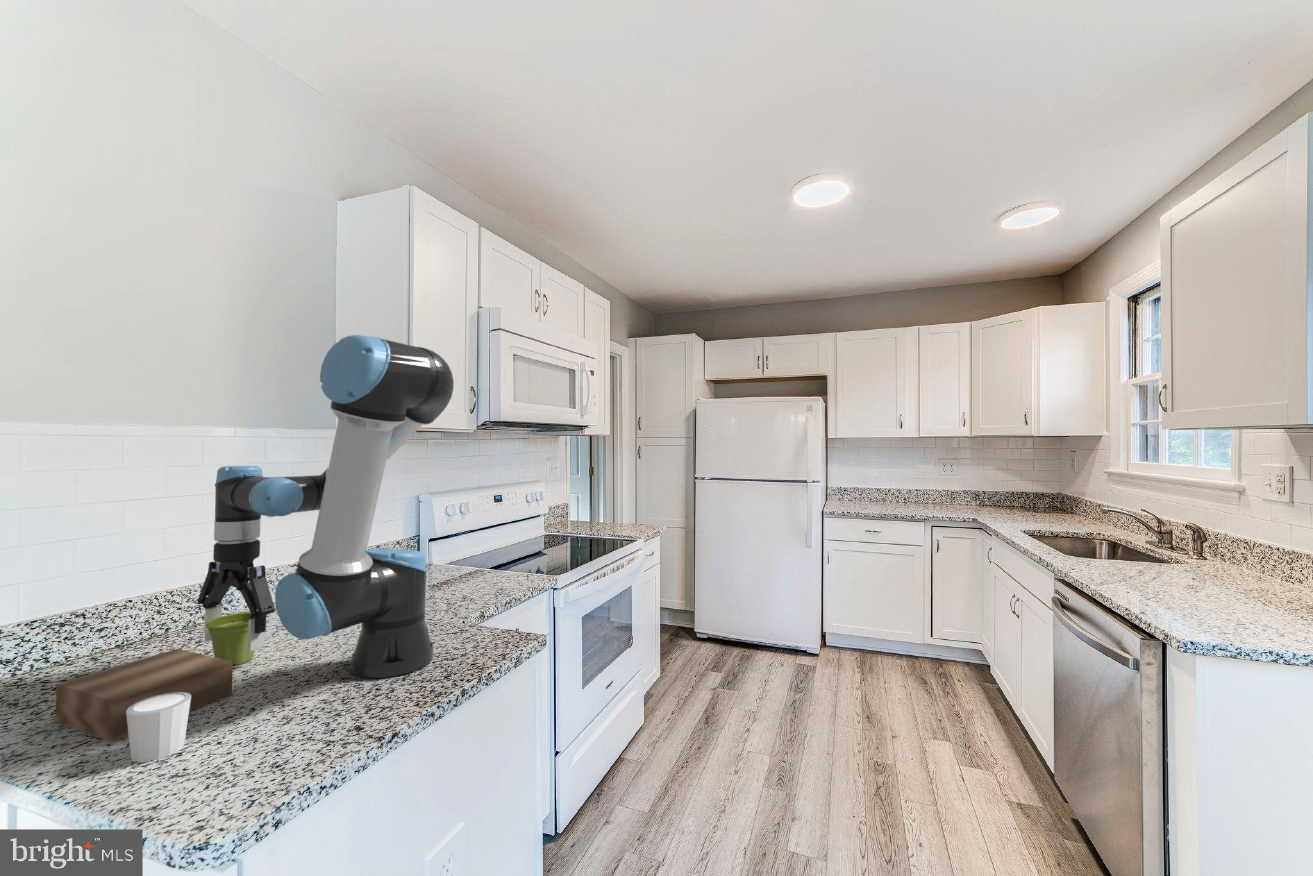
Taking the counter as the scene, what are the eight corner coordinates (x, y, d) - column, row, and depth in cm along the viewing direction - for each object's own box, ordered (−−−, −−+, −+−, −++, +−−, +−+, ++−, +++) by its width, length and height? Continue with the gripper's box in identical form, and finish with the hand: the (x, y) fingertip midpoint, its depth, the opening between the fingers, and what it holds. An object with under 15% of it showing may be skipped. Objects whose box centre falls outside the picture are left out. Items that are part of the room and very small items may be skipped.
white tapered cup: (125, 750, 76) (126, 701, 76) (188, 733, 81) (189, 687, 81) (124, 771, 71) (125, 719, 71) (191, 751, 76) (193, 702, 76)
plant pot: (230, 673, 103) (231, 628, 103) (191, 668, 104) (193, 624, 105) (274, 654, 112) (275, 613, 112) (238, 651, 114) (239, 610, 114)
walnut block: (231, 695, 93) (232, 661, 93) (113, 742, 78) (114, 701, 78) (176, 681, 99) (176, 648, 99) (55, 722, 84) (56, 684, 84)
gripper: (297, 542, 108) (294, 646, 108) (218, 533, 117) (215, 629, 116) (259, 548, 101) (255, 659, 101) (178, 538, 110) (174, 640, 109)
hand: (234, 643), depth 108 cm, fingers open, 13 cm apart
